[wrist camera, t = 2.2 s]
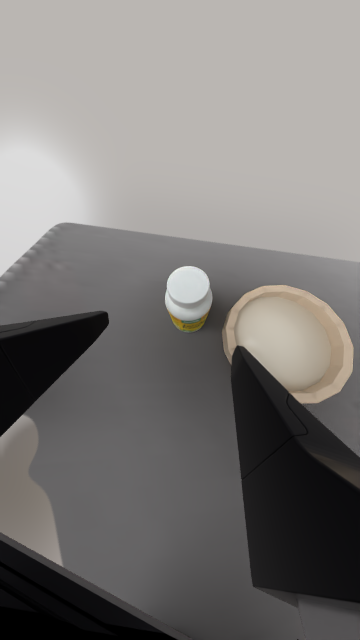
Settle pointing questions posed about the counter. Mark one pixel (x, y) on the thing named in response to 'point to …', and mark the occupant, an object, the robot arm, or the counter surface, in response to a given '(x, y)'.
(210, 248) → the counter surface
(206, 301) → the supplement bottle
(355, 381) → the counter surface
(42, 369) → the robot arm
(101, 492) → the counter surface
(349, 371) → the round tray
